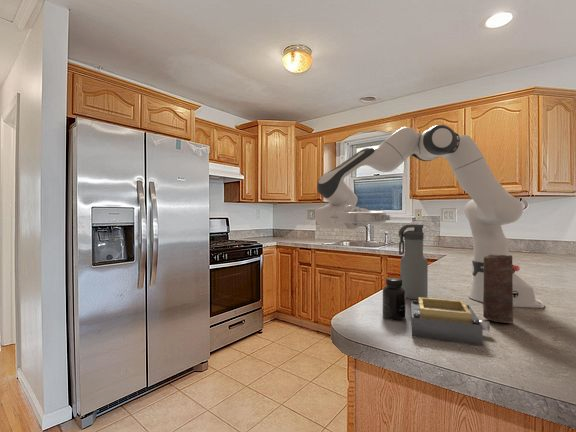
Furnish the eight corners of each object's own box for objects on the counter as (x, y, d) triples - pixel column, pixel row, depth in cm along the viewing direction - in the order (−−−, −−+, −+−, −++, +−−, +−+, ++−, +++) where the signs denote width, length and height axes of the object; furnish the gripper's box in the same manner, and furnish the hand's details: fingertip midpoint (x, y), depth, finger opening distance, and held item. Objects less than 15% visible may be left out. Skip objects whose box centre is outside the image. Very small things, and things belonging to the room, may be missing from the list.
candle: (503, 327, 87) (503, 257, 87) (477, 319, 94) (477, 254, 94) (518, 323, 91) (518, 255, 91) (492, 316, 97) (492, 252, 97)
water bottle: (396, 297, 119) (396, 224, 119) (402, 292, 127) (402, 223, 127) (425, 301, 113) (425, 225, 113) (429, 295, 121) (429, 224, 121)
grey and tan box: (481, 325, 89) (482, 301, 89) (496, 347, 74) (497, 318, 74) (411, 317, 96) (411, 294, 96) (411, 336, 81) (411, 309, 81)
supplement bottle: (407, 322, 92) (407, 281, 92) (383, 320, 94) (383, 280, 93) (403, 314, 99) (403, 277, 99) (381, 313, 100) (381, 276, 100)
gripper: (327, 208, 106) (357, 207, 95) (367, 208, 118) (398, 208, 107) (327, 226, 106) (357, 228, 95) (367, 225, 118) (398, 226, 107)
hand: (379, 217), depth 101 cm, fingers open, 8 cm apart
